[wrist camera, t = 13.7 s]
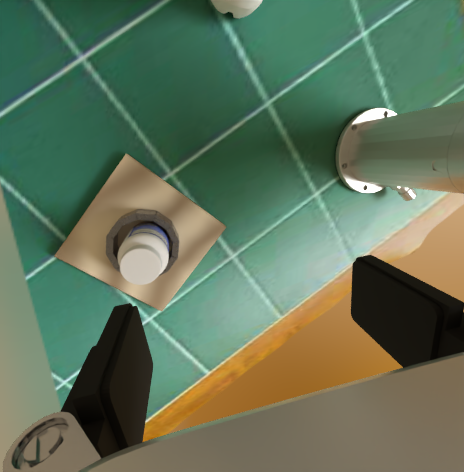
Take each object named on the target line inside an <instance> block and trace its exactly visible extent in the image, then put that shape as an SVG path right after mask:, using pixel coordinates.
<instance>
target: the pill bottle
mask: <svg viewBox="0 0 464 472" xmlns="http://www.w3.org/2000/svg"><path fill="white" fill-rule="evenodd" d="M168 259H169V238H168V235H167V233H166V231H165V230H164V228H163V227H161V226H160V225H158V224H157V223H154V222H142V223H139V224H137V225H136V226H134V227H133V228H132V229H131V230H130V232H129V233H128V235H127V237H126V238H125V240H124V242H123V243H122V245H121V246H120V248H119V251H118V263H119V266H120V272H121V274H122V276H123V277H124V278H125V279H126V280H127V281H128V282H130V283H133V284H136V285H144V284H148V283H151V282H152V281H154V280H155V279H156V278H157V277H158V276H159V275H160V274H161V273H162V272H163V271H164V270H165V268H166V266H167V264H168Z"/></svg>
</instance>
